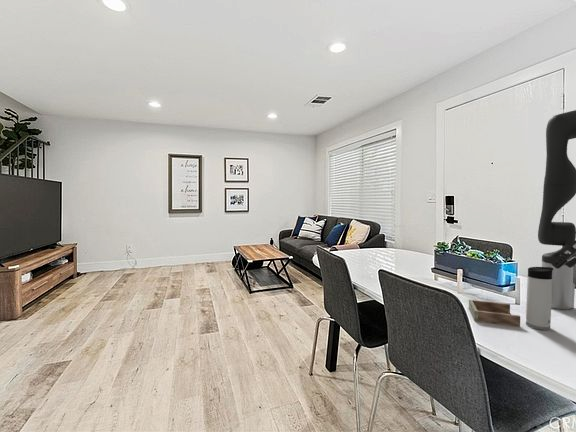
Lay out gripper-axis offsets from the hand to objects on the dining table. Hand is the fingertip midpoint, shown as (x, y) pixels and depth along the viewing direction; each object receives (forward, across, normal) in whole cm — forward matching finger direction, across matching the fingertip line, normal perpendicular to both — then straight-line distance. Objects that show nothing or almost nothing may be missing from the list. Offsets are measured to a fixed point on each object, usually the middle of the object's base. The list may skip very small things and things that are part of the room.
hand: (560, 266), depth 96 cm
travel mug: (+19, +2, +10) cm, 22 cm away
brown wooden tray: (+26, +7, 0) cm, 27 cm away
